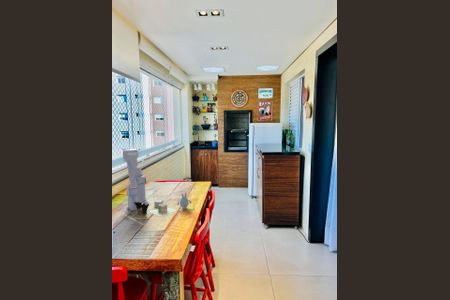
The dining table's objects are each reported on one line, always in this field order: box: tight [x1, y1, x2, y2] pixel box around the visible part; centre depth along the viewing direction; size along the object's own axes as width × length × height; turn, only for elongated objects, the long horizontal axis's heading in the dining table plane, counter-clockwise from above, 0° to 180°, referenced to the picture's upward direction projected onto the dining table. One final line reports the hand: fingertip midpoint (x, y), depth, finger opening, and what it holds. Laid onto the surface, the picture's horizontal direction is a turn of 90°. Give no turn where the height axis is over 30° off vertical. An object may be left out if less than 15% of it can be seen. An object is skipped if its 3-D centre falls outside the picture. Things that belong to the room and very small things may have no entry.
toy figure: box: [176, 192, 193, 210], centre depth 171 cm, size 11×6×12 cm, turn 113°
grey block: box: [153, 199, 164, 208], centre depth 178 cm, size 4×4×4 cm
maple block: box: [157, 202, 168, 213], centre depth 167 cm, size 4×4×4 cm
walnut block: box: [136, 208, 148, 216], centre depth 163 cm, size 4×4×4 cm
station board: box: [148, 206, 177, 217], centre depth 168 cm, size 14×14×1 cm
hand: (142, 212), depth 163 cm, fingers open, 7 cm apart
